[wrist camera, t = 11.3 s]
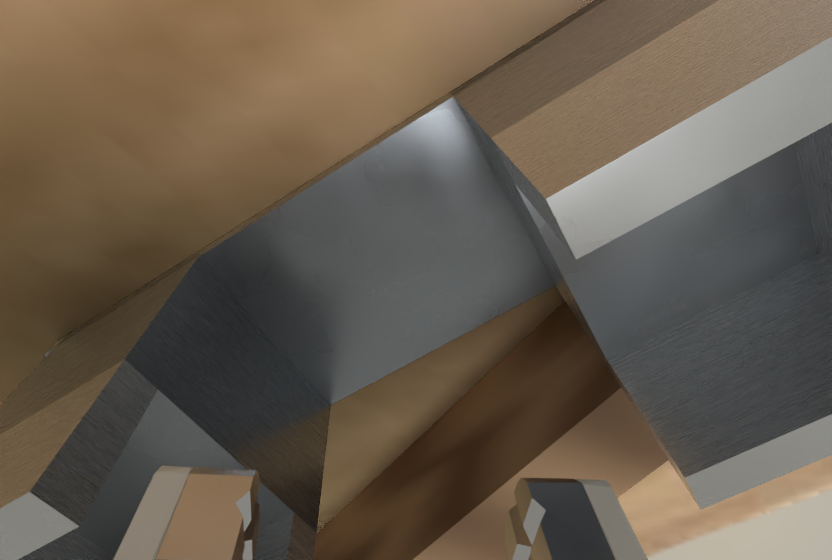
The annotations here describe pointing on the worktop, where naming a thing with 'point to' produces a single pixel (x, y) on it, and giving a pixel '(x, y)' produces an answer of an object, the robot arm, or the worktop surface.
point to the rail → (499, 454)
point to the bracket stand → (483, 277)
